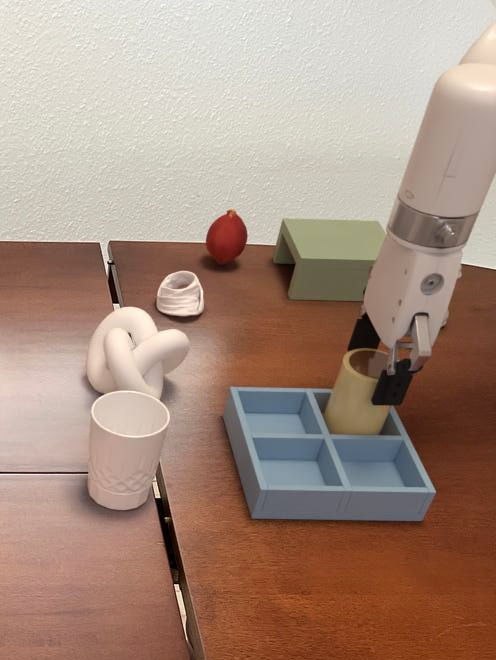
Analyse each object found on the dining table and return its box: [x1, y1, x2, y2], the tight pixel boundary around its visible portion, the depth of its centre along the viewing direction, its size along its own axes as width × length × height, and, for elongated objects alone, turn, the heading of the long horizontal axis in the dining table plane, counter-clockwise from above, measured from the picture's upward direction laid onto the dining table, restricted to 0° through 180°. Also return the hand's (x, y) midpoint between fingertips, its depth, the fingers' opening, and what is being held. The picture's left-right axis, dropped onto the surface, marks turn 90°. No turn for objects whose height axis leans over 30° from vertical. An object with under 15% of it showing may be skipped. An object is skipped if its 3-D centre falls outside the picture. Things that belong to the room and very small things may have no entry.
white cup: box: [86, 391, 171, 511], centre depth 92 cm, size 8×8×10 cm
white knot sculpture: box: [85, 306, 190, 401], centre depth 105 cm, size 11×12×9 cm
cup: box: [323, 348, 401, 435], centre depth 99 cm, size 7×7×9 cm
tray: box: [222, 386, 437, 522], centre depth 99 cm, size 18×18×4 cm
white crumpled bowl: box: [156, 270, 205, 317], centre depth 120 cm, size 8×7×5 cm
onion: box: [205, 208, 248, 266], centre depth 128 cm, size 6×6×8 cm
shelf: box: [272, 217, 387, 302], centre depth 126 cm, size 14×12×6 cm
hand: (372, 377), depth 97 cm, fingers open, 9 cm apart
